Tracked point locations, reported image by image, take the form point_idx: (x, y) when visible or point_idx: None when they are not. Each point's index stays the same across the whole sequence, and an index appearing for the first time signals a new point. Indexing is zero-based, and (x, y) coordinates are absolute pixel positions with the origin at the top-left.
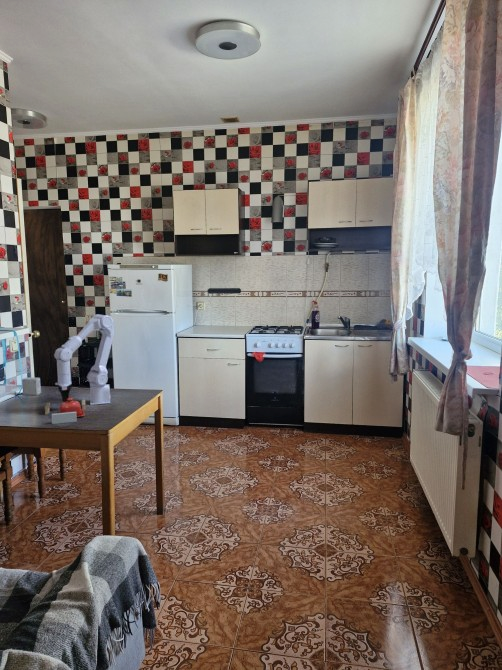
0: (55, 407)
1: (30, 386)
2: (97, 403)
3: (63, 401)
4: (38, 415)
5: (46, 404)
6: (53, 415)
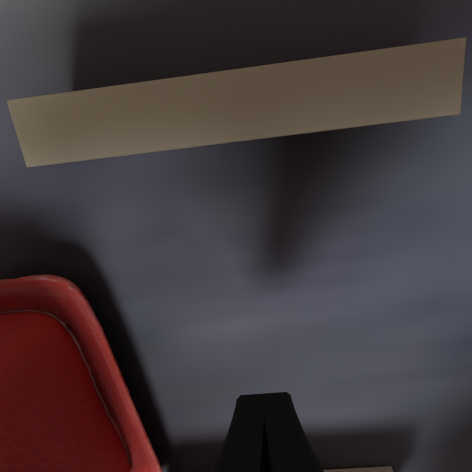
0: (423, 189)
1: None
2: None
3: (236, 406)
4: (29, 4)
5: (288, 77)
6: None
